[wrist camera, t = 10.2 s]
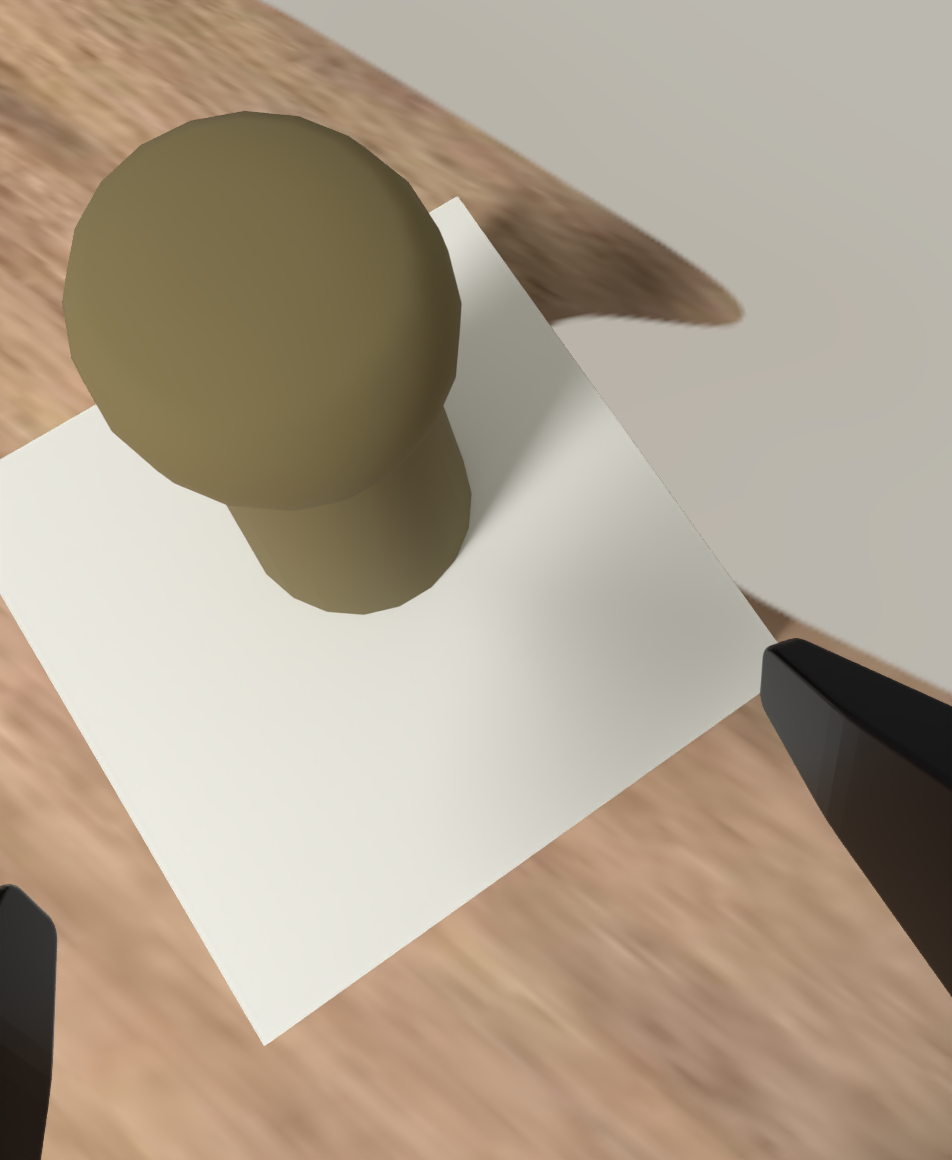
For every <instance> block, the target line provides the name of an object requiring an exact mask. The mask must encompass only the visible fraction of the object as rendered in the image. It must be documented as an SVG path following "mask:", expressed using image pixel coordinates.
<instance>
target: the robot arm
mask: <svg viewBox="0 0 952 1160" xmlns="http://www.w3.org/2000/svg"><path fill="white" fill-rule="evenodd" d="M760 697H761V702H762V705H763V708H764V710H765V712H766V714H767V716H768V718H769V719H770V721H771V723H772V725H773V727H774V728H775V730H776V732H777V734H778V736H779V737H780V739H781V741H782V743H783V744H784V746H785V748H786V750H787V752H788V753H789V755H790V757H791V759H792V760H793V762H794V764H795V766H796V768H797V769H798V771H799V773H800V775H801V777H802V778H803V780H804V782H805V784H806V785H807V787H808V789H809V791H810V793H811V794H812V796H813V798H814V800H815V802H816V803H817V805H818V807H819V808H820V810H821V812H822V813H823V815H824V817H825V818H826V820H827V821H828V823H829V824H830V826H831V827H832V829H833V830H834V832H835V833H836V835H837V836H838V838H839V839H840V841H841V842H842V843H843V845H844V846H845V848H846V849H847V850H848V852H849V853H850V855H851V856H852V857H853V859H854V860H855V862H856V863H857V864H858V866H859V867H860V869H861V870H862V871H863V873H864V874H865V876H866V877H867V878H868V880H869V881H870V883H871V884H872V886H873V887H874V888H875V890H876V891H877V893H878V894H879V895H880V897H881V898H882V900H883V901H884V902H885V904H886V905H887V907H888V908H889V909H890V911H891V912H892V914H893V915H894V916H895V918H896V919H897V921H898V922H899V923H900V925H901V926H902V928H903V929H904V931H905V932H906V933H907V935H908V936H909V938H910V939H911V940H912V942H913V943H914V945H915V946H916V947H917V949H918V950H919V952H920V953H921V954H922V956H923V957H924V959H925V960H926V961H927V963H928V964H929V966H930V967H931V968H932V970H933V971H934V973H935V974H936V976H937V977H938V978H939V980H940V981H941V983H942V984H943V985H944V987H945V988H946V990H947V991H948V992H949V994H950V995H951V997H952V706H950V705H948V704H946V703H943V702H941V701H939V700H937V699H934V698H932V697H930V696H928V695H926V694H923V693H921V692H919V691H917V690H915V689H912V688H910V687H908V686H906V685H903V684H901V683H899V682H897V681H895V680H892V679H890V678H888V677H886V676H883V675H881V674H879V673H877V672H875V671H872V670H870V669H868V668H866V667H864V666H861V665H859V664H857V663H855V662H852V661H850V660H848V659H846V658H844V657H841V656H839V655H837V654H835V653H832V652H830V651H828V650H826V649H824V648H821V647H819V646H817V645H815V644H813V643H810V642H808V641H806V640H803V639H799V638H793V639H789V640H786V641H782V642H779V643H776V644H773V645H770V646H768V647H767V648H766V649H765V651H764V652H763V658H762V672H761V686H760ZM56 962H57V933H56V929H55V925H54V923H53V921H52V919H51V918H50V917H49V916H48V915H47V914H46V913H45V912H44V911H43V910H42V909H41V908H40V907H39V906H38V905H37V904H36V903H35V902H34V901H33V900H32V899H31V898H30V897H29V896H28V895H27V894H26V893H25V892H23V891H22V890H21V889H20V888H19V887H18V886H15V885H12V884H5V885H2V886H0V1160H41V1154H42V1147H43V1140H44V1133H45V1126H46V1119H47V1112H48V1105H49V1097H50V1088H51V1080H52V1065H53V1046H54V1018H55V990H56Z"/></svg>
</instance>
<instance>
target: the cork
mask: <svg viewBox="0 0 952 1160" xmlns="http://www.w3.org/2000/svg"><path fill="white" fill-rule="evenodd" d="M62 304H63V310H64V316H65V322H66V328H67V334H68V340H69V346H70V352H71V358H72V360H73V362H74V364H75V366H76V368H77V370H78V372H79V374H80V376H81V378H82V380H83V382H84V384H85V385H86V387H87V389H88V391H89V392H90V394H91V396H92V398H93V399H94V401H95V403H96V405H97V406H98V408H99V410H100V412H101V414H102V415H103V417H104V419H105V421H106V422H107V424H108V426H109V428H110V429H111V431H112V432H113V433H114V434H115V435H116V436H118V437H119V438H120V439H121V440H122V441H123V442H124V443H126V444H127V445H128V446H129V447H130V448H131V449H132V450H134V451H135V452H136V453H137V454H138V455H139V456H141V457H142V458H143V459H144V460H145V461H146V462H147V463H149V464H150V465H151V466H152V467H153V468H154V469H155V470H157V471H158V472H159V473H161V474H162V475H163V476H165V477H166V478H168V479H169V480H170V481H172V482H173V483H175V484H177V485H179V486H182V487H184V488H187V489H189V490H191V491H194V492H196V493H199V494H201V495H204V496H206V497H208V498H211V499H213V500H216V501H218V502H220V503H223V504H225V505H226V506H227V507H228V509H229V511H230V512H231V514H232V516H233V518H234V519H235V521H236V523H237V525H238V526H239V528H240V530H241V531H242V533H243V535H244V537H245V538H246V540H247V542H248V544H249V545H250V547H251V549H252V550H253V552H254V554H255V556H256V557H257V559H258V561H259V563H260V564H261V566H262V568H263V569H264V571H265V573H266V574H267V575H268V576H269V577H270V578H271V579H272V580H274V581H275V582H276V583H277V584H278V585H279V586H280V587H282V588H283V589H284V590H285V591H286V592H287V593H288V594H290V595H291V596H292V597H293V598H295V599H297V600H300V601H302V602H305V603H307V604H309V605H312V606H314V607H317V608H319V609H321V610H324V611H326V612H335V613H347V614H359V615H365V614H370V613H374V612H378V611H382V610H387V609H391V608H395V607H400V606H401V605H403V604H405V603H406V602H408V601H410V600H411V599H413V598H415V597H416V596H418V595H420V594H421V593H423V592H425V591H427V590H428V589H430V588H431V587H432V586H433V585H434V584H435V583H436V582H437V581H438V579H439V578H440V577H441V576H442V575H443V574H444V573H445V571H446V570H447V569H448V568H449V567H450V566H451V565H452V563H453V562H454V561H455V559H456V557H457V555H458V552H459V550H460V548H461V545H462V543H463V541H464V538H465V536H466V534H467V531H468V529H469V519H470V507H471V495H472V493H471V489H470V485H469V481H468V477H467V473H466V469H465V465H464V461H463V458H462V455H461V453H460V450H459V447H458V444H457V442H456V439H455V436H454V433H453V431H452V428H451V425H450V422H449V420H448V417H447V414H446V411H445V409H444V406H443V405H444V403H445V401H446V399H447V396H448V394H449V392H450V390H451V387H452V385H453V383H454V381H455V378H456V370H457V359H458V347H459V336H460V324H461V307H462V302H461V298H460V295H459V291H458V287H457V283H456V279H455V275H454V271H453V267H452V263H451V259H450V255H449V252H448V249H447V246H446V244H445V242H444V239H443V237H442V235H441V232H440V230H439V228H438V226H437V225H436V223H435V222H434V220H433V219H432V217H431V216H430V214H429V213H428V211H427V210H426V208H425V207H424V205H423V204H422V202H421V200H420V199H419V197H418V196H417V194H416V193H415V191H414V190H413V188H412V187H411V185H410V184H409V182H408V181H406V180H405V179H404V178H402V177H401V176H400V175H399V174H397V173H396V172H395V171H394V170H392V169H391V168H390V167H389V166H387V165H386V164H385V163H384V162H382V161H381V160H380V159H379V158H377V157H376V156H375V155H374V154H372V153H371V152H370V151H369V150H367V149H366V148H365V147H364V146H362V145H361V144H359V143H358V142H356V141H355V140H353V139H352V138H351V137H349V136H347V135H344V134H342V133H339V132H337V131H334V130H332V129H329V128H327V127H324V126H322V125H319V124H317V123H314V122H312V121H309V120H307V119H304V118H302V117H299V116H290V115H279V114H269V113H258V112H248V111H242V112H237V113H231V114H226V115H220V116H215V117H209V118H204V119H198V120H193V121H189V122H187V123H185V124H183V125H181V126H179V127H177V128H175V129H173V130H171V131H169V132H167V133H165V134H163V135H161V136H159V137H156V138H154V139H152V140H150V141H148V142H146V143H144V144H142V145H140V146H139V147H138V148H137V149H136V150H135V151H134V152H133V153H132V154H131V155H130V156H129V157H128V158H126V159H125V160H124V161H123V162H122V163H121V164H120V165H119V166H118V167H117V168H116V169H115V170H113V171H112V172H111V173H110V174H109V175H108V176H107V177H106V178H105V179H104V180H103V181H102V182H101V183H100V185H99V187H98V188H97V190H96V192H95V194H94V195H93V197H92V199H91V201H90V202H89V204H88V206H87V208H86V210H85V211H84V213H83V215H82V217H81V218H80V220H79V222H78V224H77V225H76V227H75V230H74V236H73V241H72V247H71V252H70V258H69V263H68V268H67V274H66V279H65V286H64V293H63V300H62Z"/></svg>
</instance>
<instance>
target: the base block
mask: <svg viewBox="0 0 952 1160" xmlns="http://www.w3.org/2000/svg"><path fill="white" fill-rule="evenodd" d="M429 214H430V216H431V217H432V219H433V220H434V222H435V223H436V225H437V226H438V228H439V230H440V232H441V235H442V237H443V239H444V242H445V244H446V246H447V249H448V252H449V255H450V259H451V263H452V267H453V271H454V275H455V279H456V283H457V287H458V291H459V295H460V298H461V302H462V307H461V324H460V336H459V347H458V359H457V370H456V378H455V381H454V383H453V385H452V387H451V390H450V392H449V394H448V396H447V399H446V401H445V403H444V405H443V406H444V409H445V411H446V414H447V417H448V420H449V422H450V425H451V428H452V431H453V433H454V436H455V439H456V442H457V444H458V447H459V450H460V453H461V455H462V458H463V461H464V465H465V469H466V473H467V477H468V481H469V485H470V489H471V493H472V495H471V507H470V519H469V529H468V531H467V534H466V536H465V538H464V541H463V543H462V545H461V548H460V550H459V552H458V555H457V557H456V559H455V561H454V562H453V563H452V565H451V566H450V567H449V568H448V569H447V570H446V571H445V573H444V574H443V575H442V576H441V577H440V578H439V579H438V581H437V582H436V583H435V584H434V585H433V586H432V587H431V588H430V589H428V590H427V591H425V592H423V593H421V594H420V595H418V596H416V597H415V598H413V599H411V600H410V601H408V602H406V603H405V604H403V605H401V606H400V607H395V608H391V609H387V610H382V611H378V612H374V613H370V614H365V615H359V614H347V613H335V612H326V611H324V610H321V609H319V608H317V607H314V606H312V605H309V604H307V603H305V602H302V601H300V600H297V599H295V598H293V597H292V596H291V595H290V594H288V593H287V592H286V591H285V590H284V589H283V588H282V587H280V586H279V585H278V584H277V583H276V582H275V581H274V580H272V579H271V578H270V577H269V576H268V575H267V574H266V573H265V571H264V569H263V568H262V566H261V564H260V563H259V561H258V559H257V557H256V556H255V554H254V552H253V550H252V549H251V547H250V545H249V544H248V542H247V540H246V538H245V537H244V535H243V533H242V531H241V530H240V528H239V526H238V525H237V523H236V521H235V519H234V518H233V516H232V514H231V512H230V511H229V509H228V507H227V506H226V505H225V504H223V503H220V502H218V501H216V500H213V499H211V498H208V497H206V496H204V495H201V494H199V493H196V492H194V491H191V490H189V489H187V488H184V487H182V486H179V485H177V484H175V483H173V482H172V481H170V480H169V479H168V478H166V477H165V476H163V475H162V474H161V473H159V472H158V471H157V470H155V469H154V468H153V467H152V466H151V465H150V464H149V463H147V462H146V461H145V460H144V459H143V458H142V457H141V456H139V455H138V454H137V453H136V452H135V451H134V450H132V449H131V448H130V447H129V446H128V445H127V444H126V443H124V442H123V441H122V440H121V439H120V438H119V437H118V436H116V435H115V434H114V433H113V432H112V431H111V429H110V428H109V426H108V424H107V422H106V421H105V419H104V417H103V415H102V414H101V412H100V410H99V408H98V406H97V405H94V406H92V407H91V408H89V409H87V410H85V411H84V412H82V413H80V414H78V415H77V416H75V417H73V418H71V419H70V420H68V421H66V422H65V423H63V424H61V425H59V426H58V427H56V428H54V429H52V430H51V431H49V432H47V433H45V434H44V435H42V436H40V437H38V438H37V439H35V440H33V441H32V442H30V443H28V444H26V445H25V446H23V447H21V448H19V449H18V450H16V451H14V452H12V453H11V454H9V455H7V456H5V457H4V458H2V459H0V594H1V596H2V598H3V599H4V601H5V603H6V604H7V606H8V608H9V610H10V611H11V613H12V615H13V616H14V618H15V620H16V622H17V623H18V625H19V627H20V628H21V630H22V632H23V634H24V635H25V637H26V639H27V640H28V642H29V644H30V646H31V647H32V649H33V651H34V652H35V654H36V656H37V658H38V659H39V661H40V663H41V664H42V666H43V668H44V670H45V671H46V673H47V675H48V676H49V678H50V680H51V682H52V683H53V685H54V687H55V688H56V690H57V692H58V694H59V695H60V697H61V699H62V700H63V702H64V704H65V706H66V707H67V709H68V711H69V712H70V714H71V716H72V718H73V719H74V721H75V723H76V724H77V726H78V728H79V730H80V731H81V733H82V735H83V736H84V738H85V740H86V742H87V743H88V745H89V747H90V748H91V750H92V752H93V754H94V755H95V757H96V759H97V760H98V762H99V764H100V766H101V767H102V769H103V771H104V772H105V774H106V776H107V778H108V779H109V781H110V783H111V784H112V786H113V788H114V790H115V791H116V793H117V795H118V796H119V798H120V800H121V802H122V803H123V805H124V807H125V808H126V810H127V812H128V814H129V815H130V817H131V819H132V820H133V822H134V824H135V826H136V827H137V829H138V831H139V832H140V834H141V836H142V838H143V839H144V841H145V843H146V844H147V846H148V848H149V850H150V851H151V853H152V855H153V856H154V858H155V860H156V862H157V863H158V865H159V867H160V868H161V870H162V872H163V874H164V875H165V877H166V879H167V880H168V882H169V884H170V886H171V887H172V889H173V891H174V892H175V894H176V896H177V898H178V899H179V901H180V903H181V904H182V906H183V908H184V910H185V911H186V913H187V915H188V916H189V918H190V920H191V922H192V923H193V925H194V927H195V928H196V930H197V932H198V934H199V935H200V937H201V939H202V940H203V942H204V944H205V946H206V947H207V949H208V951H209V952H210V954H211V956H212V958H213V959H214V961H215V963H216V964H217V966H218V968H219V970H220V971H221V973H222V975H223V976H224V978H225V980H226V982H227V983H228V985H229V987H230V988H231V990H232V992H233V994H234V995H235V997H236V999H237V1000H238V1002H239V1004H240V1006H241V1007H242V1009H243V1011H244V1012H245V1014H246V1016H247V1018H248V1019H249V1021H250V1023H251V1024H252V1026H253V1028H254V1030H255V1031H256V1033H257V1035H258V1036H259V1038H260V1040H261V1042H262V1043H263V1045H264V1046H265V1045H267V1044H268V1043H270V1042H271V1041H272V1040H274V1039H275V1038H277V1037H278V1036H279V1035H281V1034H282V1033H284V1032H285V1031H286V1030H288V1029H289V1028H291V1027H292V1026H293V1025H295V1024H296V1023H298V1022H299V1021H300V1020H302V1019H303V1018H305V1017H306V1016H307V1015H309V1014H310V1013H312V1012H313V1011H314V1010H316V1009H317V1008H319V1007H320V1006H321V1005H323V1004H324V1003H326V1002H327V1001H328V1000H330V999H331V998H333V997H334V996H335V995H337V994H338V993H340V992H341V991H342V990H344V989H345V988H347V987H348V986H349V985H351V984H352V983H354V982H355V981H356V980H358V979H359V978H361V977H362V976H364V975H365V974H366V973H368V972H369V971H371V970H372V969H373V968H375V967H376V966H378V965H379V964H380V963H382V962H383V961H385V960H386V959H387V958H389V957H390V956H392V955H393V954H394V953H396V952H397V951H399V950H400V949H401V948H403V947H404V946H406V945H407V944H408V943H410V942H411V941H413V940H414V939H415V938H417V937H418V936H420V935H421V934H422V933H424V932H425V931H427V930H428V929H429V928H431V927H432V926H434V925H435V924H436V923H438V922H439V921H441V920H442V919H443V918H445V917H446V916H448V915H449V914H450V913H452V912H453V911H455V910H456V909H457V908H459V907H460V906H462V905H463V904H464V903H466V902H467V901H469V900H470V899H471V898H473V897H474V896H476V895H477V894H479V893H480V892H481V891H483V890H484V889H486V888H487V887H488V886H490V885H491V884H493V883H494V882H495V881H497V880H498V879H500V878H501V877H502V876H504V875H505V874H507V873H508V872H509V871H511V870H512V869H514V868H515V867H516V866H518V865H519V864H521V863H522V862H523V861H525V860H526V859H528V858H529V857H530V856H532V855H533V854H535V853H536V852H537V851H539V850H540V849H542V848H543V847H544V846H546V845H547V844H549V843H550V842H551V841H553V840H554V839H556V838H557V837H558V836H560V835H561V834H563V833H564V832H565V831H567V830H568V829H570V828H571V827H572V826H574V825H575V824H577V823H578V822H579V821H581V820H582V819H584V818H585V817H586V816H588V815H589V814H591V813H592V812H594V811H595V810H596V809H598V808H599V807H601V806H602V805H603V804H605V803H606V802H608V801H609V800H610V799H612V798H613V797H615V796H616V795H617V794H619V793H620V792H622V791H623V790H624V789H626V788H627V787H629V786H630V785H631V784H633V783H634V782H636V781H637V780H638V779H640V778H641V777H643V776H644V775H645V774H647V773H648V772H650V771H651V770H652V769H654V768H655V767H657V766H658V765H659V764H661V763H662V762H664V761H665V760H666V759H668V758H669V757H671V756H672V755H673V754H675V753H676V752H678V751H679V750H680V749H682V748H683V747H685V746H686V745H687V744H689V743H690V742H692V741H693V740H694V739H696V738H697V737H699V736H700V735H701V734H703V733H704V732H706V731H707V730H709V729H710V728H711V727H713V726H714V725H716V724H717V723H718V722H720V721H721V720H723V719H724V718H725V717H727V716H728V715H730V714H731V713H732V712H734V711H735V710H737V709H738V708H739V707H741V706H742V705H744V704H745V703H746V702H748V701H749V700H751V699H752V698H753V697H755V696H756V695H758V694H759V693H760V686H761V672H762V658H763V652H764V651H765V649H766V648H767V647H768V646H770V645H773V644H776V643H777V641H776V640H775V639H774V637H773V636H772V634H771V633H770V632H769V630H768V629H767V627H766V626H765V625H764V623H763V622H762V620H761V619H760V618H759V616H758V615H757V613H756V612H755V611H754V609H753V608H752V606H751V605H750V604H749V602H748V601H747V599H746V598H745V597H744V595H743V594H742V592H741V591H740V590H739V588H738V587H737V586H736V584H735V583H734V581H733V580H732V579H731V577H730V576H729V574H728V573H727V572H726V570H725V569H724V568H723V566H722V565H721V563H720V562H719V561H718V559H717V558H716V557H715V555H714V553H713V552H712V551H711V549H710V548H709V546H708V545H707V544H706V542H705V541H704V539H703V538H702V537H701V535H700V534H699V533H698V531H697V530H696V528H695V527H694V526H693V525H692V523H691V522H690V520H689V519H688V517H687V516H686V514H685V513H684V512H683V510H682V509H681V507H680V506H679V505H678V503H677V502H676V500H675V499H674V498H673V496H672V495H671V494H670V492H669V491H668V490H667V488H666V486H665V485H664V484H663V482H662V481H661V480H660V478H659V477H658V475H657V474H656V473H655V471H654V470H653V468H652V467H651V466H650V464H649V463H648V461H647V460H646V459H645V457H644V456H643V454H642V453H641V452H640V450H639V449H638V447H637V446H636V445H635V443H634V442H633V440H632V439H631V438H630V436H629V435H628V433H627V432H626V431H625V429H624V428H623V426H622V425H621V424H620V423H619V421H618V420H617V418H616V417H615V415H614V414H613V413H612V411H611V410H610V408H609V407H608V406H607V404H606V403H605V401H604V400H603V399H602V397H601V396H600V395H599V393H598V392H597V390H596V389H595V387H594V386H593V385H592V384H591V382H590V380H589V379H588V378H587V376H586V375H585V373H584V372H583V371H582V370H581V368H580V367H579V365H578V364H577V363H576V361H575V360H574V358H573V357H572V355H571V354H570V353H569V351H568V350H567V348H566V347H565V346H564V344H563V343H562V341H561V340H560V339H559V337H558V336H557V334H556V333H555V332H554V330H553V329H552V327H551V326H550V325H549V323H548V322H547V320H546V319H545V318H544V316H543V315H542V314H541V312H540V311H539V309H538V308H537V307H536V305H535V304H534V302H533V301H532V300H531V298H530V297H529V295H528V294H527V293H526V291H525V290H524V288H523V287H522V286H521V284H520V283H519V281H518V280H517V279H516V277H515V276H514V274H513V273H512V272H511V270H510V269H509V267H508V266H507V265H506V263H505V262H504V260H503V259H502V258H501V256H500V255H499V254H498V252H497V251H496V249H495V248H494V247H493V245H492V244H491V242H490V241H489V240H488V238H487V237H486V235H485V234H484V233H483V231H482V230H481V228H480V227H479V226H478V224H477V223H476V221H475V220H474V219H473V217H472V216H471V214H470V213H469V212H468V210H467V209H466V207H465V206H464V205H463V203H462V202H461V201H460V199H459V198H458V196H457V197H455V198H454V199H452V200H450V201H448V202H447V203H445V204H443V205H441V206H440V207H438V208H436V209H434V210H433V211H431V212H429Z"/></svg>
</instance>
